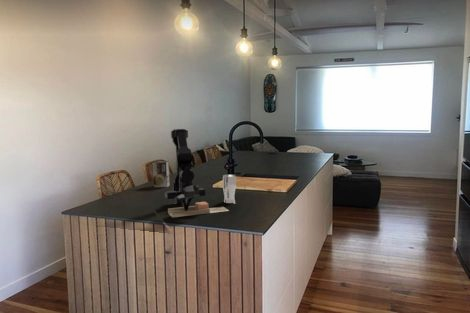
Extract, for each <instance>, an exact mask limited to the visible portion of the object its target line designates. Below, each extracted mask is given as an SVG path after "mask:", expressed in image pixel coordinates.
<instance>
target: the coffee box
mask: <svg viewBox="0 0 470 313" xmlns="http://www.w3.org/2000/svg"><path fill="white" fill-rule="evenodd" d="M169 162H170V161H169V160H167V161H166V160H165V161H160V160H158V161H154V162H152V175H153V188H169V186H170V166H169V165H170V163H169Z"/></svg>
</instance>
